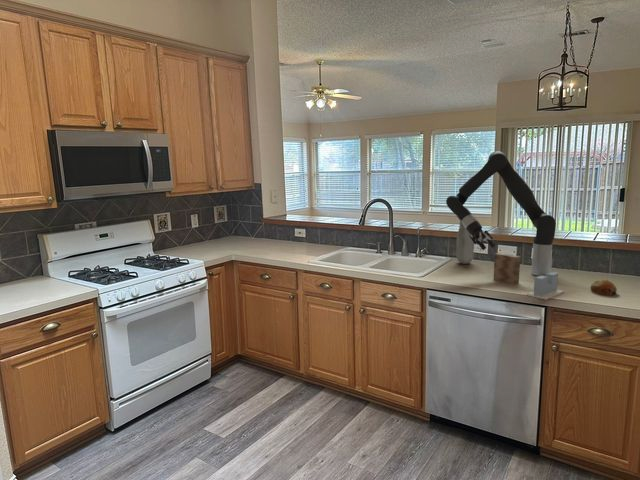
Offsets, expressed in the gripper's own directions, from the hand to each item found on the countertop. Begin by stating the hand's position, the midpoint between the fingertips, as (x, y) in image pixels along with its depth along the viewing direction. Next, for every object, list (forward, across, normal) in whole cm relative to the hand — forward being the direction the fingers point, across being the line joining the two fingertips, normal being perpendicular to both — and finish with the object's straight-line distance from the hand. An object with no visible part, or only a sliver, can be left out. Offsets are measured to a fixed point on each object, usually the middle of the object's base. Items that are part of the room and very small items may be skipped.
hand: (489, 248), depth 228 cm
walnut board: (+19, 0, +4) cm, 19 cm away
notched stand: (+35, -6, -12) cm, 38 cm away
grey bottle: (-8, +18, +31) cm, 36 cm away
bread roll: (+47, +16, -24) cm, 55 cm away
